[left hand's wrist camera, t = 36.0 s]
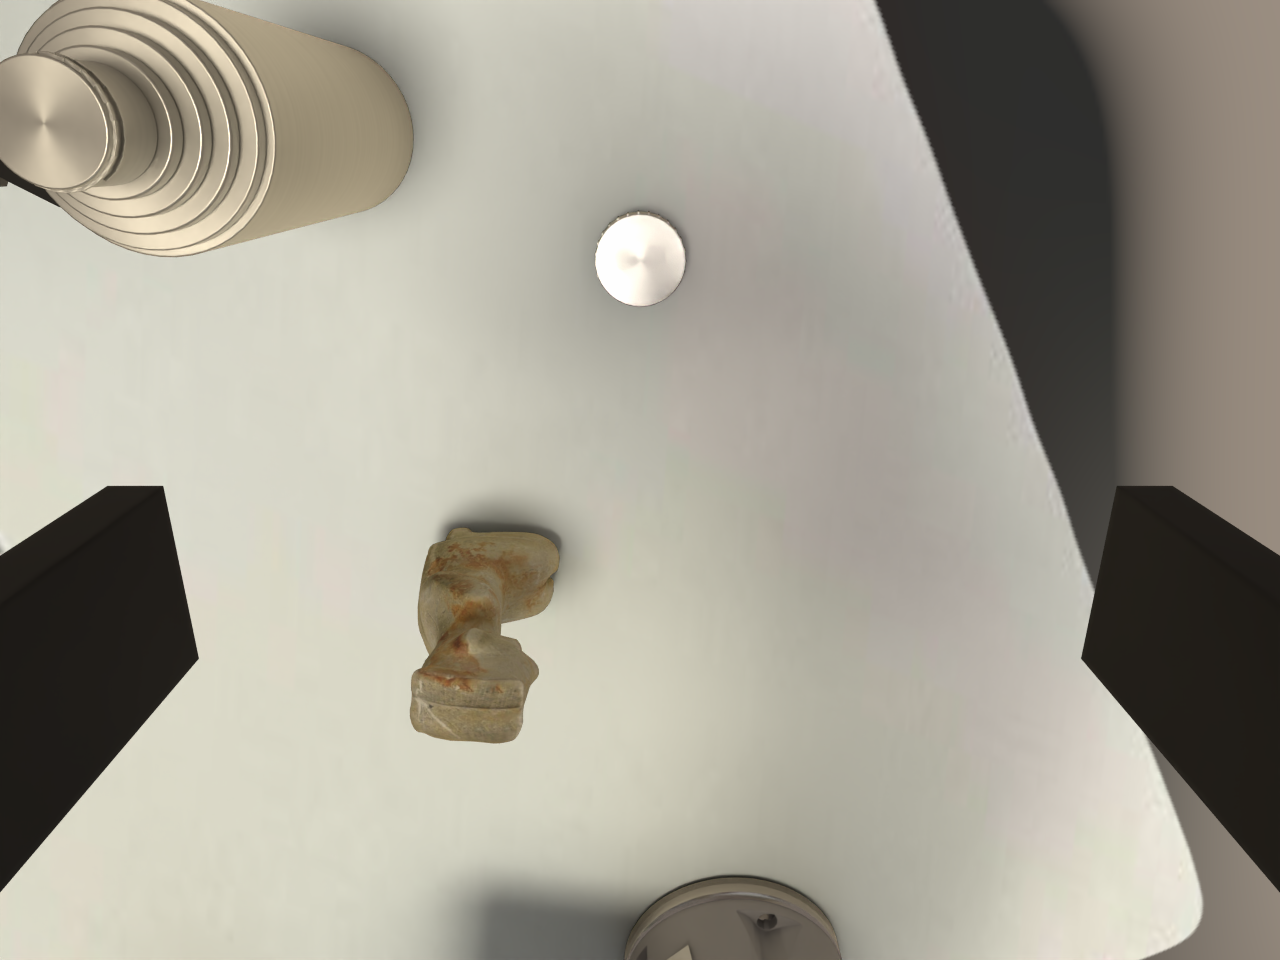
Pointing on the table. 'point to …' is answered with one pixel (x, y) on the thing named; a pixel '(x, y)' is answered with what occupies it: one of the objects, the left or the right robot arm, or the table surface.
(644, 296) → the cap
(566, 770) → the table surface
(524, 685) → the sculpture
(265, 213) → the bottle
